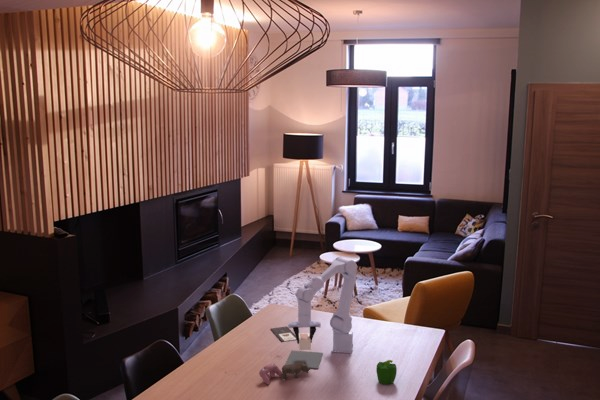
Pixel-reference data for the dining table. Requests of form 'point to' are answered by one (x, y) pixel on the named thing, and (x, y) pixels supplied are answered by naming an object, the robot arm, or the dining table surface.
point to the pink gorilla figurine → (269, 368)
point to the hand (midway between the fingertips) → (304, 342)
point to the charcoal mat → (305, 358)
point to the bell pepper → (386, 372)
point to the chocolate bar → (284, 334)
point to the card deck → (304, 341)
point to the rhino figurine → (294, 369)
